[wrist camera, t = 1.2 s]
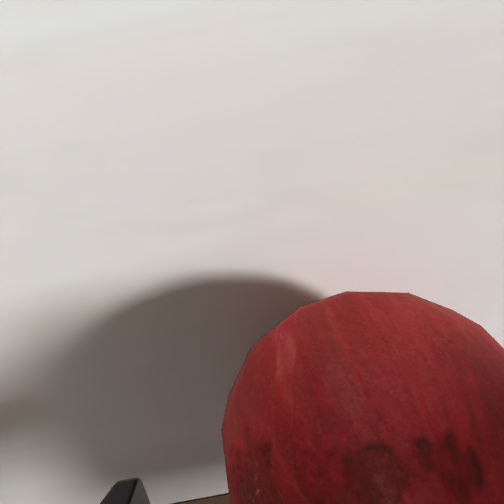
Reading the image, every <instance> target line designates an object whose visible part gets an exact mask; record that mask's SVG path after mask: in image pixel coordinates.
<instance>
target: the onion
mask: <svg viewBox="0 0 504 504" xmlns="http://www.w3.org/2000/svg"><path fill="white" fill-rule="evenodd" d="M222 438H223V446H224V455H225V464H226V472H227V481H228V489H229V497H230V504H504V348H503V347H502V346H501V345H500V344H499V343H498V342H497V341H496V340H495V339H494V338H493V337H492V336H491V335H490V334H489V333H488V332H487V331H486V330H485V329H484V328H483V327H481V326H480V325H478V324H477V323H475V322H473V321H471V320H469V319H468V318H466V317H464V316H462V315H460V314H458V313H457V312H455V311H453V310H451V309H448V308H446V307H443V306H441V305H438V304H435V303H433V302H430V301H428V300H425V299H422V298H420V297H417V296H415V295H412V294H409V293H390V292H344V293H340V294H337V295H334V296H331V297H328V298H325V299H322V300H319V301H316V302H313V303H310V304H307V305H304V306H301V307H300V308H299V309H297V310H296V311H295V312H293V313H292V314H291V315H290V316H288V317H287V318H286V319H285V320H283V321H282V322H281V323H279V324H278V325H277V326H276V327H274V328H273V329H272V330H270V331H269V332H268V333H267V334H265V335H264V336H263V337H262V338H261V339H260V340H259V341H258V342H257V343H256V344H255V345H254V346H253V347H252V348H251V349H250V351H249V353H248V355H247V357H246V360H245V362H244V364H243V366H242V368H241V370H240V372H239V375H238V377H237V379H236V381H235V383H234V385H233V387H232V389H231V392H230V394H229V396H228V401H227V406H226V410H225V415H224V420H223V425H222Z"/></svg>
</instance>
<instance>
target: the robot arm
mask: <svg viewBox="0 0 504 504" xmlns="http://www.w3.org/2000/svg"><path fill="white" fill-rule="evenodd" d="M100 504H150V502H149V499H148V497H147V494H146V491H145V489H144V486H143V484H142V482H141V480H140V479H139V478H132V479H126V480H121V481H118V482H117V483H116V484H115V485H114V486H113V487H112V488H111V490H110V491H109V492H108V494H107V495H106V496H105V498H104V499H103V500H102V502H101V503H100Z"/></svg>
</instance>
